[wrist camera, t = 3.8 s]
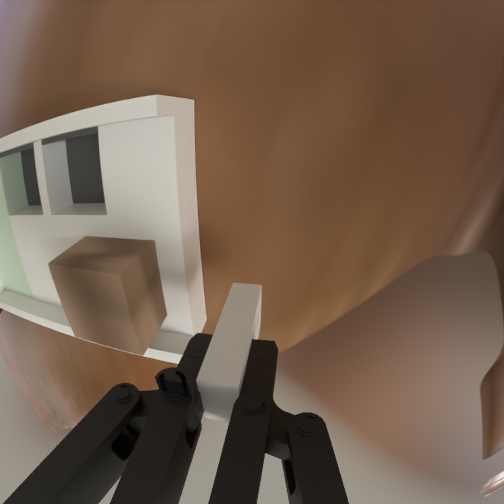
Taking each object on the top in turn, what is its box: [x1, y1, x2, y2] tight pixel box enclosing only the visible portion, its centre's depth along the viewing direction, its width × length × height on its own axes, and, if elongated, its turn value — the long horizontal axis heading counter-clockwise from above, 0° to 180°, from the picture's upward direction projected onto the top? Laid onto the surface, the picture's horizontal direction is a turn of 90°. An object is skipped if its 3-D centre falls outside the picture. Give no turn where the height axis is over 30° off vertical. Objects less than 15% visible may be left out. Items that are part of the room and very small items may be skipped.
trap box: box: [0, 95, 207, 364], centre depth 18 cm, size 24×16×5 cm, turn 89°
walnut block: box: [48, 236, 167, 356], centre depth 16 cm, size 6×6×4 cm
